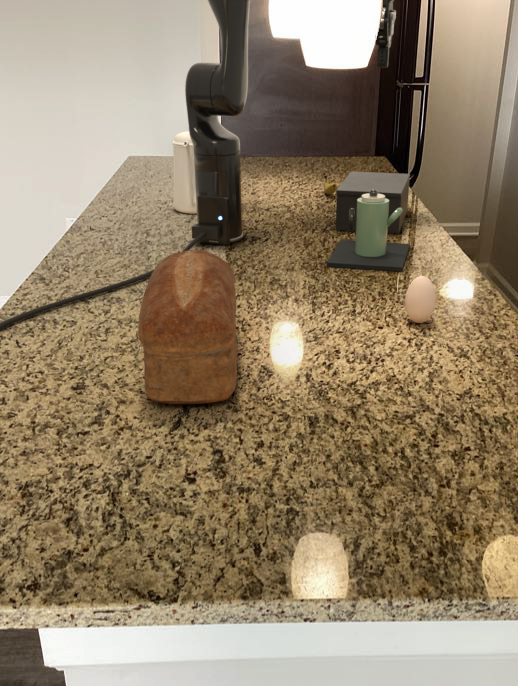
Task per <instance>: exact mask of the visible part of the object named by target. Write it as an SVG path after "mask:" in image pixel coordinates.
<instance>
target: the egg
mask: <svg viewBox="0 0 518 686" xmlns="http://www.w3.org/2000/svg"><path fill="white" fill-rule="evenodd" d="M436 304H437V293H436V289H435V285H434V284H433V282H432V280H431V279H430V278H428V277H427V276H425V275H419V276H416V277H415V278H414V279H413V280H412V281H411V283H410V284H409V285H408V288H407V289H406V293H405V298H404V308H405V311H406V314H407V316H408V318H409V319H410V320H411V321H412V322H413V323H416V324H422V323H425V322H427V321H428V320H429V319H430V318H431V317H432V315H433V314H434V311H435V309H436Z"/></svg>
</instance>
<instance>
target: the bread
mask: <svg viewBox="0 0 518 686" xmlns="http://www.w3.org/2000/svg"><path fill="white" fill-rule="evenodd" d="M153 270H154V271H153V273H152V274H151V276H150V277H148V280H147V285H146V287H145V290H144V292H143V296H142V301H141V304H140V310H139V314H138V327H137V335H138V340H139V343H140V344H141V347H142V349H143V350H142V351H143V365H144V367H143V368H144V369H143V370H144V371H143V377H144V378H143V379H144V388H145V391H146V394H147V397H148V398H149V399H150V400H151V401H152V402H155V403H161V404H169V405H200V404H210V403H218V402H222V401H226V400H228V399H230V397H231V395H233V393H234V392H235V389H236V387H237V382H238V370H237V367H238V341H237V334H236V333H237V332H236V331H237V322H236V313H237V292H236V284H235V283H236V276H235V271H234V269H233V268H232V267H231V265H230V264H229V263H228V262H227V261H225V260H224V259H223V258H221V257H220V256H219V255H216V254H214V253H212V252H210V251H207V250H201V249H190V250H187V251H184V252H182V251H181V252H173V253H171V254H170V255H168V256H166V257H165V258H163V259H162V260H161V261H160V262H158V263H157V264H156V265H155V267H154V269H153Z"/></svg>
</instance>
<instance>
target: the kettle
mask: <svg viewBox="0 0 518 686" xmlns="http://www.w3.org/2000/svg"><path fill="white" fill-rule="evenodd" d="M402 212H403V210H402V208H397V209H396V211H395V212H394V213H393V214H392V215H391V216H390V217H389V218H388V213H389V200H388V199H386V198H385V195H383V194H378V192H377V190H375V189H372V190H370V192H369V193H368V194H363V195H362V198H359V199H357V215H356V231H354V217H355V210H354V208H351V209H350V210H349V231H348V232H349V233H353V232H355V240H354V241H355V253H356V254H357V255H360V256H365V257H378V256H383V255H385V254H386V246H387V243H388V233H387V230H388V227H389V226H390V225H391V224H392V223H393V222H394V221H395V220H396V219H397V218H398V217H399V216H400V215H401V214H402Z"/></svg>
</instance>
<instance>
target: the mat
mask: <svg viewBox="0 0 518 686" xmlns="http://www.w3.org/2000/svg"><path fill="white" fill-rule="evenodd" d="M410 248H411V245H410V243H403V242H402V243H399V242H387V246H386V254H385V255H383V256H378V257H365V256H360V255H357V254H356V253H355V240H353V239H352V240H351V239H340V241H338V243H337V245H336V247H335V249H334V250H333V252H332V254H331V255H330V257H329V258H328V260H327V262H326V268H327V267H328V268H341V269H342V268H343V269H355V270H356V269H357V270H373V271H386V272H387V271H388V272H401V273H402V272H403V270H404V266H405V263H406V261H407V257H408V254H409V251H410Z"/></svg>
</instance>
